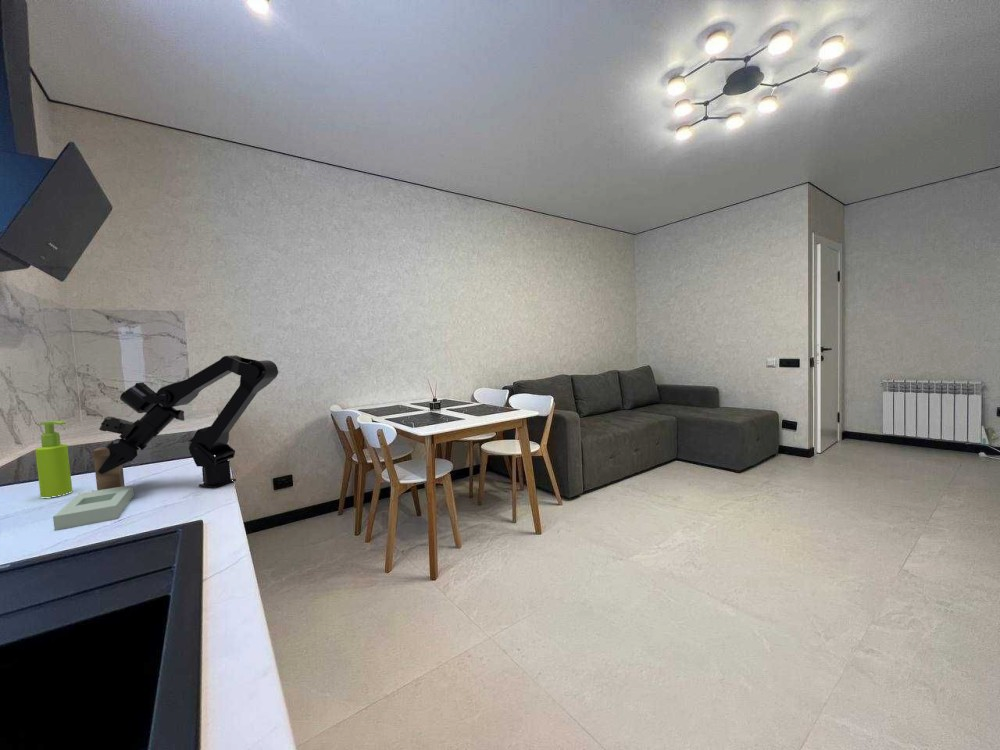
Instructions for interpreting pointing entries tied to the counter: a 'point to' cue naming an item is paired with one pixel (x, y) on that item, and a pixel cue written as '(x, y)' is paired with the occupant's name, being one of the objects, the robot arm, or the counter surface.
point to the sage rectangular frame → (93, 507)
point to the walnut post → (108, 478)
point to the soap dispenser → (53, 463)
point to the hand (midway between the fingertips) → (102, 470)
